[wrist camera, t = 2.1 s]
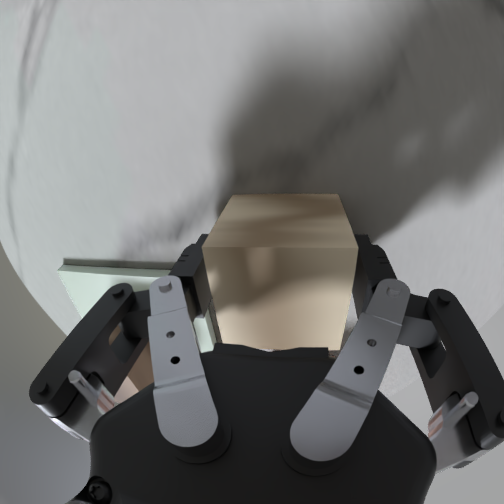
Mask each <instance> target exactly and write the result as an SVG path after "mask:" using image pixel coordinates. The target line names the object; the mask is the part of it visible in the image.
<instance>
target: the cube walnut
mask: <svg viewBox="0 0 504 504" xmlns="http://www.w3.org/2000/svg"><path fill="white" fill-rule="evenodd" d="M120 331H121V330H120V328H119V326H118V325H117V327H116V328H115V329H114V331H113V332H112V333H111V335H110V337H109V345H111V344H112V342H113V341H114V340H115V338H116V337H117V336H118V334H119V333H120ZM152 382H154V375H153V368H152V360H151V351H150V342H148V343H147V345H146V346H145V348H144V349H143V351H142V353H141V354H140V356H139V357H138V359H137V361H136V362H135V364H134V365H133V367H132V369H131V370H130V372H129V373H128V375H127V377H126V378H125V380H124V382H123V383H122V385H121V387H120V388H119V390H118V392H117V393H116V395H115V397H114V401H115V402H118V403H122V402H123V401H125V400H127V399H128V398H130V397H131V396H133V395H134V394H136V393H137V392H139V391H140V390H142V389H143V388H145V387H146V386H148V385H149V384H151V383H152Z"/></svg>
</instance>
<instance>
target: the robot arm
mask: <svg viewBox="0 0 504 504" xmlns="http://www.w3.org/2000/svg"><path fill="white" fill-rule="evenodd" d="M208 235H209V234H202V235H201V236H200V238H199V239H198V241H197V242H196V244H191V245H190V246H188V247H187V248H186V249H184V251H183V253H182V254H181V256H180V257H179V259H178V261H177V262H176V263H175V265H174V267H173V268H172V270H171V271H170V273H169V274H168V276H163V277H160V278H158V279H156V280H155V281H153V282H152V284H151V285H150V287H149V290H143V291H137V292H134V290H133V288H132V286H131V285H130V284H128V283H119V284H116V285H114V286H112V287H110V288H109V289H108V290H107V291H106V292H105V293H104V294H103V296H102V297H101V298H100V299H99V300H98V301H97V302H96V303H95V305H94V306H93V307H92V308H91V309H90V310H89V311H88V313H87V314H86V315H85V316H84V317H83V318H82V320H81V321H80V322H79V323H78V324H77V326H76V327H75V328H74V329H73V330H72V332H71V333H70V334H69V335H68V336H67V338H66V339H65V340H64V342H63V343H62V344H61V345H60V346H59V348H58V349H57V350H56V351H55V353H54V354H53V355H52V357H51V358H50V359H49V361H48V362H47V363H46V365H45V366H44V367H43V369H42V370H41V371H40V373H39V374H38V375H37V377H36V378H35V380H34V381H33V382H32V384H31V386H30V390H29V396H30V399H31V401H32V402H33V403H34V404H35V405H36V406H37V407H39V408H40V409H41V410H42V411H43V412H44V413H45V415H46V416H47V417H49V418H50V419H51V420H52V421H53V422H55V423H56V424H57V425H58V426H60V427H61V428H62V429H63V430H66V431H67V432H69V433H70V434H71V435H72V436H74V437H75V438H77V439H82V440H83V439H85V440H87V441H88V442H89V444H90V454H91V470H90V477H89V480H88V482H87V484H86V486H85V487H84V488H83V490H82V491H81V492H80V493H79V494H78V495H76V496H75V497H74V498H73V499H71V500H70V501H68V502H67V503H66V504H423V503H424V500H425V497H426V495H427V492H428V489H429V487H430V485H431V483H432V481H433V478H434V476H435V474H436V473H439V472H441V471H444V470H446V469H448V468H451V467H453V468H462V467H464V466H466V465H468V464H469V463H471V462H473V461H474V460H476V459H478V458H479V457H481V456H482V455H484V454H486V453H487V452H489V451H490V450H491V449H493V448H494V447H496V446H497V445H498V444H500V443H501V442H503V441H504V380H503V378H502V376H501V373H500V371H499V370H498V367H497V366H496V363H495V362H494V360H493V358H492V356H491V354H490V352H489V350H488V348H487V347H486V345H485V343H484V341H483V339H482V338H481V336H480V334H479V333H478V331H477V329H476V328H475V326H474V324H473V323H472V321H471V319H470V318H469V316H468V315H467V313H466V311H465V310H464V308H463V307H462V305H461V304H460V302H459V301H458V299H457V298H456V297H455V295H453V294H452V293H451V292H449V291H447V290H444V289H434V290H432V291H431V292H430V294H429V296H428V298H427V297H422V296H417V295H413V294H411V293H410V289H409V287H408V286H407V285H406V284H405V283H404V282H402V281H400V280H397V278H396V275H395V273H394V271H393V269H392V266H391V264H390V262H389V260H388V258H387V255H386V253H385V251H384V250H383V249H382V248H381V247H379V246H378V245H372V244H371V242H370V239H369V237H368V235H365V234H354V237H355V240H356V242H357V245H358V255H357V262H356V269H355V275H354V281H353V287H352V294H353V298H354V303H355V308H356V313H357V318H358V321H357V323H356V325H355V327H354V329H353V331H352V332H351V334H350V336H349V338H348V340H347V342H346V343H345V345H344V347H343V349H342V350H341V352H340V354H339V356H338V357H337V358H336V357H333V356H329V354H328V347H298V348H292V349H287V350H281V351H275V352H267V351H263V350H259V349H256V348H252V347H248V346H245V345H240V344H226V343H215V345H214V348H213V351H207V352H203V353H202V351H201V348H200V344H199V341H198V337H197V334H196V330H195V327H194V324H193V322H194V320H195V318H202V319H204V317H205V314H206V312H207V309H208V307H209V304H210V301H211V299H212V294H211V290H210V285H209V281H208V276H207V271H206V266H205V261H204V256H203V251H202V246H203V244H204V242H205V240H206V239H207V237H208ZM117 325H118V326H119V328H120V330H121V331H120V333H119V334H118V336H117V337H116V338H115V340H114V341H113V342H112V344H111V345H109V337H110V335H111V333H112V332H113V331H114V329H115V328H116V327H117ZM441 340H442V342H443V344H444V346H445V349H446V351H445V349H444V347H443V345H442V342H441ZM148 342H150V351H151V360H152V368H153V375H154V382H152V383H151V384H149V385H148V386H146V387H145V388H143V389H142V390H140V391H139V392H137V393H136V394H134V395H133V396H131V397H130V398H128V399H127V400H125V401H123V402H122V403H120V404H119V405H117V406H116V407H114V397H115V395H116V393H117V392H118V390H119V388H120V387H121V385H122V383H123V382H124V380H125V378H126V377H127V375H128V373H129V372H130V370H131V369H132V367H133V365H134V364H135V362H136V361H137V359H138V357H139V356H140V354H141V353H142V351H143V349H144V348H145V346H146V345H147V343H148ZM396 344H401V345H405V346H409V347H410V350H411V353H412V355H413V358H414V360H415V363H416V365H417V368H418V370H419V373H420V376H421V379H422V381H423V384H424V387H425V390H426V393H427V395H428V399H429V402H430V405H431V408H432V411H433V415H432V416H431V418H430V420H429V424H428V430H429V433H428V436H429V437H427V436H426V435H425V434H424V433H423V432H422V431H421V430H420V429H419V428H418V427H417V426H416V425H415V424H414V423H412V422H411V421H410V420H409V419H408V418H407V417H406V416H405V415H404V414H403V413H402V412H401V411H400V410H399V409H398V408H397V407H396V406H395V405H394V404H393V403H392V402H391V401H389V400H388V399H387V398H386V397H385V396H384V395H383V394H382V393H381V392H380V391H379V390H378V389H379V386H380V384H381V382H382V379H383V377H384V374H385V372H386V369H387V367H388V364H389V362H390V359H391V356H392V353H393V351H394V348H395V345H396Z"/></svg>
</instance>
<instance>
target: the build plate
mask: <svg viewBox="0 0 504 504" xmlns="http://www.w3.org/2000/svg"><path fill="white" fill-rule="evenodd" d="M170 271H171V270H156V269H132V268H111V267H92V266H74V265H62V266H61V267H60V268H59V269H58V270H57V272H58V274H59V276H60V278H61V280H62V282H63V284H64V286H65V288H66V290H67V292H68V294H69V296H70V298H71V300H72V302H73V304H74V305H75V307H76V309H77V311H78V313H79V314H80V316H81V318H83V317H84V316H85V315H86V314H87V313H88V311H89V310H90V309H91V308H92V307H93V306H94V305H95V303H96V302H97V301H98V300H99V299H100V298H101V297H102V296H103V294H104V293H105V292H106V291H107V290H108V289H109V288H110V287H112V286H114V285H116V284H119V283H128V284H130V285H131V286H132V288H133V290H134V292H137V291H143V290H149V287H150V285H151V284H152V282H153V281H155V280H156V279H158V278H160V277H163V276H168V274H169V273H170ZM193 324H194V327H195V330H196V334H197V337H198V341H199V344H200V348H201V351H202V353H203V352H207V351H213V348H214V345H215V343H217V341H216V337H215V333H214V329H213V326H212V322H211V318H210V314H209V310H208V309H207V312H206V314H205V317H204V319H202V318H195V320H194V322H193Z"/></svg>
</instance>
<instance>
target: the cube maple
mask: <svg viewBox="0 0 504 504" xmlns="http://www.w3.org/2000/svg"><path fill="white" fill-rule="evenodd" d="M202 251H203V256H204V261H205V266H206V271H207V276H208V281H209V285H210V290H211V294H212V299H213V303H214V308H215V312H216V317H217V321H218V325H219V329H220V334H221V338H222V342H223V343H226V344H240V345H245V346H248V347H252V348H257V349H278V350H287V349H292V348H298V347H328V350H340V346H341V342H342V337H343V333H344V328H345V324H346V319H347V314H348V309H349V304H350V298H351V293H352V287H353V281H354V275H355V269H356V262H357V255H358V245H357V242H356V240H355V237H354V234H353V231H352V229H351V226H350V223H349V221H348V218H347V215H346V213H345V210H344V208H343V205H342V203H341V200H340V198H339V195H338V194H242V195H232V197H231V198H230V200H229V202H228V203H227V205H226V207H225V208H224V210H223V211H222V213H221V215H220V217H219V218H218V220H217V222H216V223H215V225H214V227H213V228H212V230H211V232H210V233H209V235H208V237H207V239H206V240H205V242H204V244H203V246H202Z"/></svg>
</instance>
